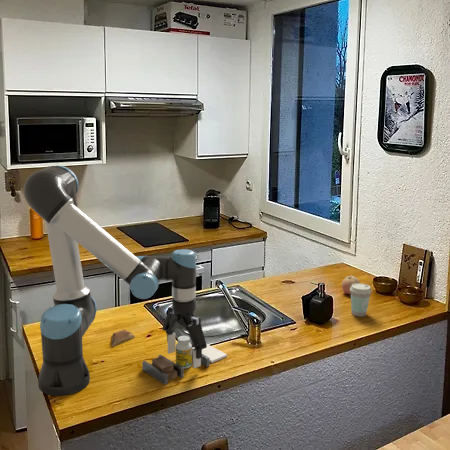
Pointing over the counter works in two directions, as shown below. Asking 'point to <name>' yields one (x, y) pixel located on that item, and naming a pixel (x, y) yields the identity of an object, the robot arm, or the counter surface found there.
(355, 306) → the coffee cup
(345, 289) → the fruit
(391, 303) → the counter surface
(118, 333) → the shard
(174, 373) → the offcut lower
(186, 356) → the supplement bottle
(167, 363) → the offcut upper
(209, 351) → the pad
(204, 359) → the grey cradle
